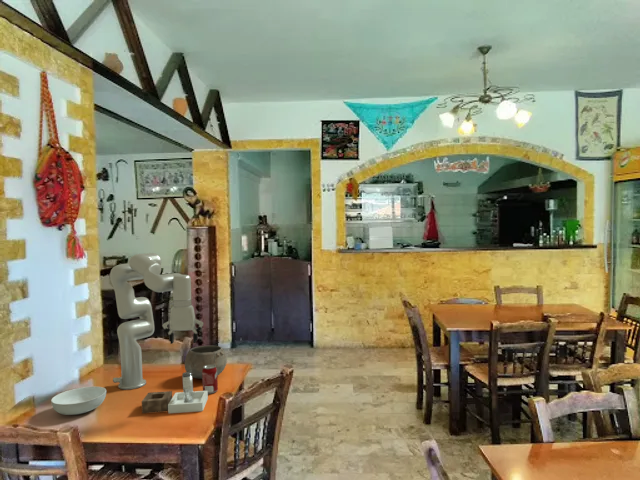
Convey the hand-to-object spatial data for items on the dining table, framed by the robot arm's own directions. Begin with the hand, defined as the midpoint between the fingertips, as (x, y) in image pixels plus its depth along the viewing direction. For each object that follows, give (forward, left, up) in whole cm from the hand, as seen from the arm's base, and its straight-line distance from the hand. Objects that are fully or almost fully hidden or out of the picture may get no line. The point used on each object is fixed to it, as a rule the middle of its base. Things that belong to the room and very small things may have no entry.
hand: (183, 342), depth 194 cm
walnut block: (-11, -3, -27) cm, 29 cm away
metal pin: (+2, -3, -26) cm, 26 cm away
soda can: (+9, +12, -27) cm, 31 cm away
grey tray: (+2, -3, -27) cm, 27 cm away
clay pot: (+4, +33, -27) cm, 43 cm away
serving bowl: (-44, 0, -27) cm, 52 cm away
